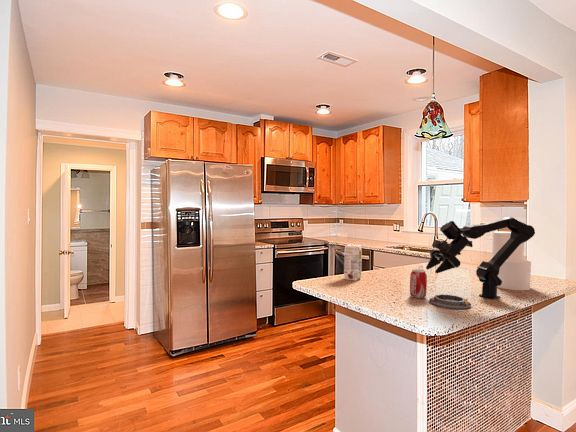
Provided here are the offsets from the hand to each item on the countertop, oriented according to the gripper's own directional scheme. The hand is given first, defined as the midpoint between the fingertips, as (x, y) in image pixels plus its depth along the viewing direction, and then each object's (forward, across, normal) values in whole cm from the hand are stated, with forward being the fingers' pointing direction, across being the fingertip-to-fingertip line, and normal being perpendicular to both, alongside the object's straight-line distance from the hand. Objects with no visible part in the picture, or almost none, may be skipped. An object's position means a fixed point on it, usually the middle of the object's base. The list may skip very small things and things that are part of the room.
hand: (431, 270), depth 161 cm
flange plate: (+6, +11, +11) cm, 17 cm away
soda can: (+13, 0, +5) cm, 13 cm away
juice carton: (+28, -37, -10) cm, 48 cm away
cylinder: (-29, -22, +46) cm, 58 cm away
